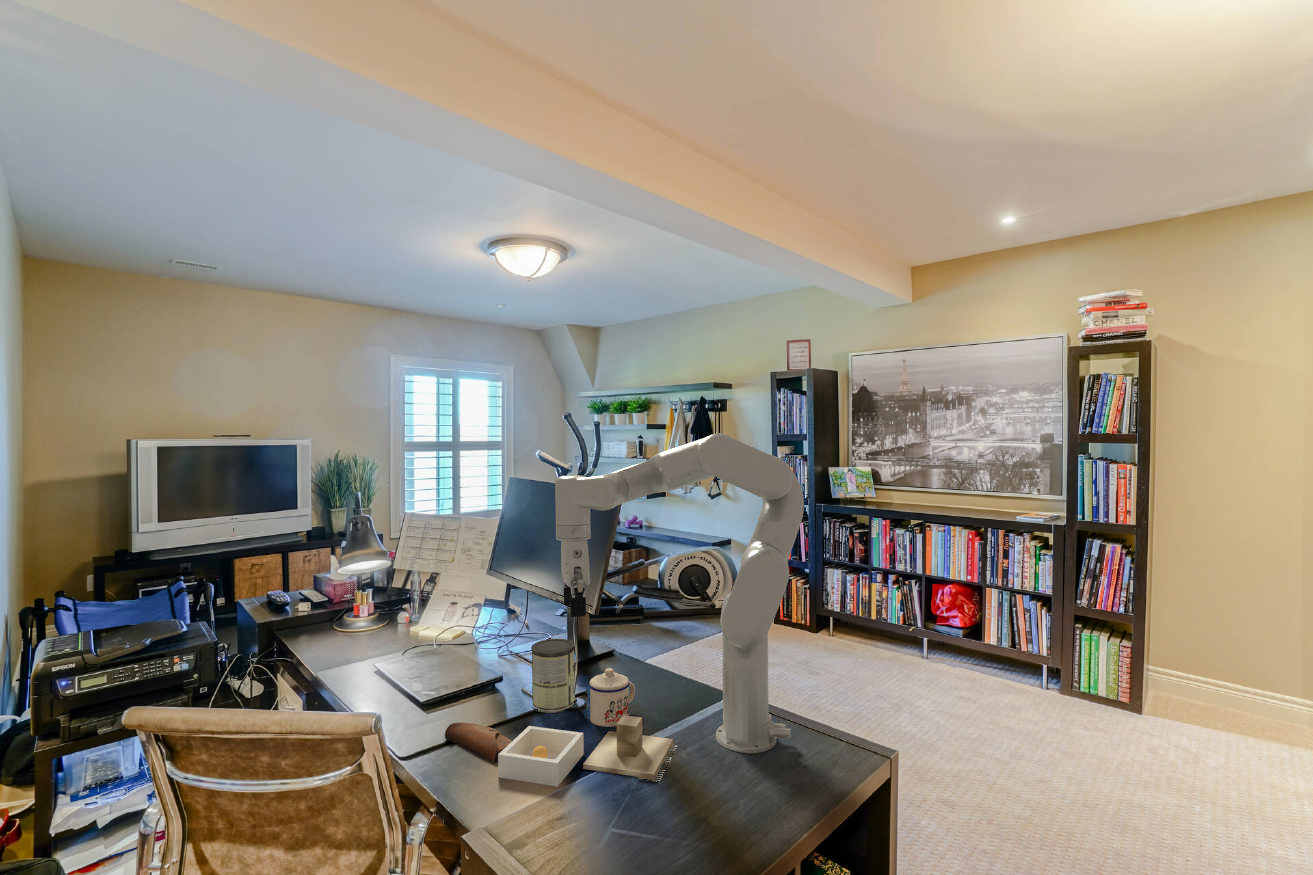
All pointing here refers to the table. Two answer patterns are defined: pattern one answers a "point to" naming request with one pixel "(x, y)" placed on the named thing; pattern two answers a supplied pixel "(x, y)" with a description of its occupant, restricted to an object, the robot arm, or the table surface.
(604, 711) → the teacup with lid
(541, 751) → the ball
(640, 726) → the lid
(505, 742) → the sunglasses case
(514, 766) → the dish
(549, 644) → the coffee can
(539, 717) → the table surface
